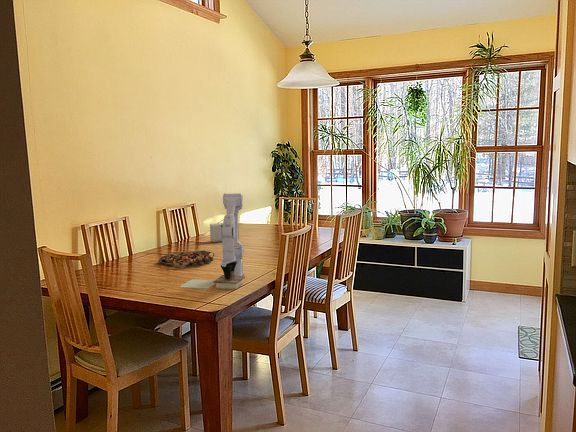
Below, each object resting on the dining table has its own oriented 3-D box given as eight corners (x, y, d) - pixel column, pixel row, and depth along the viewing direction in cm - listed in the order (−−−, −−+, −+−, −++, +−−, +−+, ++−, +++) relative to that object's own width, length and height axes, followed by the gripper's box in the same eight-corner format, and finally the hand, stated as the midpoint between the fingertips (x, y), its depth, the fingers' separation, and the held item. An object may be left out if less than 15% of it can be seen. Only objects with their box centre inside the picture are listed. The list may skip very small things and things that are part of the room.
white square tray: (223, 282, 245) (223, 277, 245) (242, 283, 243) (242, 277, 242) (216, 288, 235) (216, 282, 235) (235, 289, 233) (235, 283, 233)
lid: (222, 276, 246) (222, 268, 245) (244, 277, 243) (244, 269, 242) (213, 282, 234) (213, 274, 234) (236, 283, 231) (236, 275, 231)
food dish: (203, 271, 274) (202, 258, 272) (149, 270, 280) (147, 257, 279) (223, 256, 308) (222, 244, 306) (174, 255, 314) (174, 244, 313)
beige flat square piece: (191, 279, 251) (191, 279, 251) (218, 281, 248) (218, 280, 248) (179, 287, 238) (179, 286, 238) (207, 289, 234) (207, 288, 234)
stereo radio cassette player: (212, 243, 353) (211, 215, 350) (209, 241, 361) (208, 214, 358) (239, 240, 361) (239, 214, 358) (236, 238, 369) (235, 212, 366)
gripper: (226, 247, 245) (226, 273, 246) (215, 253, 231) (216, 281, 232) (239, 247, 243) (240, 274, 245) (229, 253, 229) (230, 281, 231)
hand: (229, 277), depth 238 cm, fingers closed on lid, 4 cm apart
